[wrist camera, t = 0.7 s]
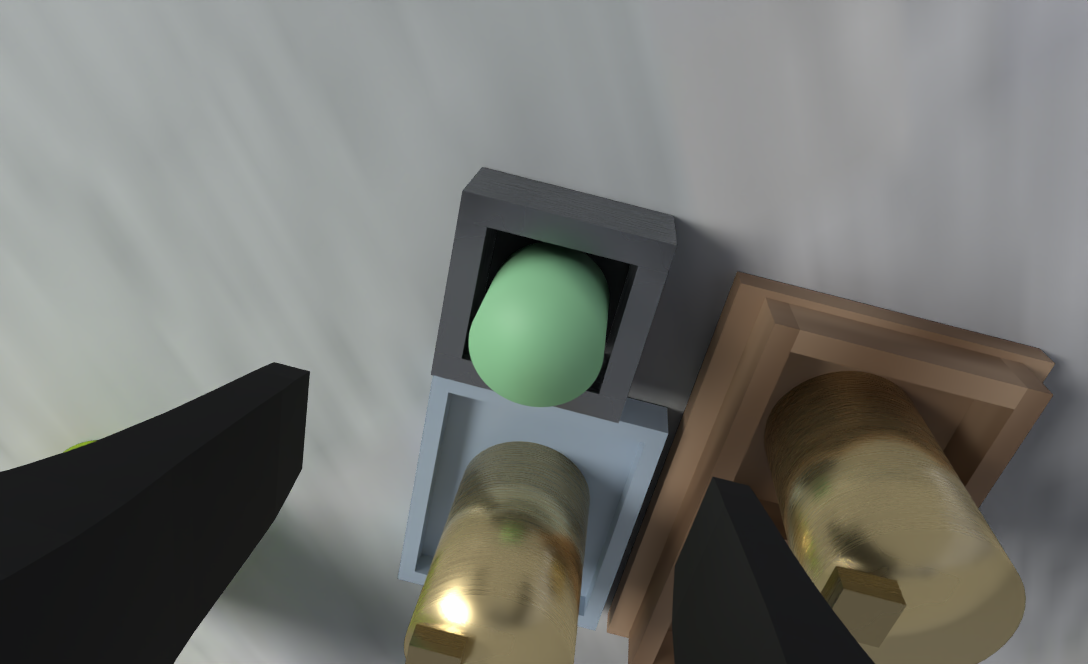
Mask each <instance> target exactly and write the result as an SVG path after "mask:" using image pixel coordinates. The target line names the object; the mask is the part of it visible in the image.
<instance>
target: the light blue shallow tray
mask: <svg viewBox="0 0 1088 664" xmlns="http://www.w3.org/2000/svg"><path fill="white" fill-rule="evenodd" d="M667 436H668V415H667V408H666V407H662V406H658V405H655V404H651V403H647V402H643V401H639V400H635V399H631V398H627V399H626V402H625V405H624V408H623V411H622V415H621V418H620V421H619V423H615V422H611V421H608V420H604V419H600V418H596V417H592V416H588V415H584V414H581V413H577V412H573V411H569V410H565V409H561V408H557V407H553V406H551V407H531V406H525V405H521V404H518V403H515V402H512V401H510V400H508V399H505V398H504V397H502V396H500V395H499V394H497V393H496V392H495V391H492V390H488V389H484V388H480V387H476V386H472V385H468V384H465V383H461V382H457V381H453V380H449V379H445V378H441V377H438V376H434V375H433V378H432V384H431V389H430V395H429V401H428V407H427V412H426V418H425V424H424V430H423V435H422V441H421V447H420V453H419V458H418V464H417V470H416V476H415V481H414V487H413V493H412V499H411V504H410V510H409V516H408V522H407V527H406V533H405V539H404V545H403V550H402V556H401V562H400V568H399V573H398V579H400V580H404V581H408V582H412V583H415V584H419V585H424V582H425V580H426V577H427V574H428V571H429V569H430V566H431V563H432V560H433V557H434V555H435V552H436V549H437V546H438V544H439V541H440V538H441V535H442V532H443V530H444V527H445V524H446V521H447V519H448V516H449V513H450V510H451V507H452V505H453V502H454V499H455V496H456V494H457V491H458V488H459V485H460V482H461V480H462V477H463V474H464V472H465V470H466V468H467V466H468V464H469V463H470V462H471V460H472V459H473V458H474V457H475V456H476V455H478V454H479V453H480V452H482V451H483V450H485V449H487V448H489V447H491V446H494V445H497V444H501V443H505V442H512V441H523V442H532V443H537V444H541V445H544V446H547V447H549V448H552V449H554V450H556V451H558V452H559V453H561V454H563V455H564V456H566V457H567V458H568V459H570V460H571V461H572V462H573V463H574V464H575V465H576V466H577V467H578V469H579V470H580V471H581V473H582V474H583V476H584V478H585V480H586V482H587V484H588V488H589V492H590V506H589V516H588V526H587V536H586V546H585V556H584V566H583V576H582V585H581V595H580V605H579V615H578V625H577V626H579V627H583V628H587V629H591V630H596V627H597V624H598V621H599V619H600V616H601V613H602V611H603V608H604V605H605V603H606V600H607V597H608V595H609V592H610V589H611V587H612V584H613V581H614V578H615V576H616V573H617V570H618V568H619V565H620V562H621V560H622V557H623V554H624V552H625V549H626V546H627V543H628V541H629V538H630V535H631V533H632V530H633V527H634V525H635V522H636V519H637V517H638V514H639V511H640V509H641V506H642V503H643V500H644V498H645V495H646V492H647V490H648V487H649V484H650V482H651V479H652V476H653V474H654V471H655V468H656V466H657V463H658V460H659V457H660V455H661V452H662V449H663V447H664V444H665V441H666V439H667Z"/></svg>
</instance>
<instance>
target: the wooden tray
mask: <svg viewBox="0 0 1088 664" xmlns="http://www.w3.org/2000/svg"><path fill="white" fill-rule="evenodd" d="M1054 364H1055V363H1054V362H1053V361H1052V360H1051V359H1050V358H1049V357H1048V356H1047V355H1045V354H1044V353H1043V352H1042V351H1041V350H1040V349H1039V348H1035V347H1031V346H1027V345H1023V344H1019V343H1015V342H1012V341H1008V340H1004V339H1000V338H996V337H992V336H988V335H984V334H980V333H976V332H972V331H969V330H965V329H961V328H957V327H953V326H949V325H945V324H941V323H937V322H933V321H929V320H926V319H922V318H918V317H914V316H910V315H906V314H902V313H898V312H894V311H890V310H886V309H883V308H879V307H875V306H871V305H867V304H863V303H859V302H855V301H851V300H847V299H843V298H840V297H836V296H832V295H828V294H824V293H820V292H816V291H812V290H808V289H804V288H800V287H797V286H793V285H789V284H785V283H781V282H777V281H773V280H769V279H765V278H761V277H757V276H754V275H750V274H746V273H742V272H738V271H737V273H736V276H735V279H734V281H733V284H732V287H731V289H730V292H729V295H728V297H727V300H726V302H725V305H724V308H723V310H722V313H721V316H720V318H719V321H718V324H717V326H716V329H715V332H714V334H713V337H712V339H711V342H710V345H709V347H708V350H707V353H706V355H705V358H704V361H703V363H702V366H701V369H700V371H699V374H698V377H697V379H696V382H695V384H694V387H693V390H692V392H691V395H690V398H689V400H688V403H687V406H686V408H685V411H684V414H683V416H682V419H681V421H680V424H679V427H678V429H677V432H676V435H675V437H674V440H673V443H672V445H671V448H670V451H669V453H668V456H667V458H666V461H665V464H664V466H663V469H662V472H661V474H660V477H659V480H658V482H657V485H656V488H655V490H654V493H653V496H652V498H651V501H650V503H649V506H648V509H647V511H646V514H645V517H644V519H643V522H642V525H641V527H640V530H639V533H638V535H637V538H636V540H635V543H634V546H633V548H632V551H631V554H630V556H629V559H628V562H627V564H626V567H625V570H624V572H623V575H622V578H621V580H620V583H619V585H618V588H617V591H616V593H615V596H614V599H613V601H612V604H611V607H610V609H609V612H608V622H607V632H608V633H611V634H615V635H619V636H623V637H627V638H629V651H628V664H675V662H674V649H673V634H672V606H673V586H674V569H675V564H676V562H677V560H678V557H679V555H680V552H681V550H682V548H683V545H684V543H685V541H686V538H687V536H688V534H689V531H690V529H691V526H692V524H693V522H694V519H695V517H696V515H697V512H698V510H699V508H700V505H701V503H702V500H703V498H704V496H705V493H706V491H707V489H708V486H709V484H710V482H711V479H712V477H717V478H721V479H725V480H729V481H732V482H736V483H740V484H744V485H748V486H750V488H751V489H752V491H753V492H754V494H755V495H756V497H757V498H758V500H759V501H760V503H761V504H762V506H763V507H764V509H765V510H766V512H767V513H768V515H769V517H770V518H771V520H772V521H773V523H774V524H775V526H776V528H777V529H778V531H779V532H780V534H781V535H782V537H783V538H784V540H785V541H786V543H787V545H788V546H789V544H788V540H787V536H786V532H785V528H784V524H783V520H782V516H781V512H780V508H779V504H778V500H777V496H776V492H775V488H774V484H773V479H772V475H771V471H770V467H769V463H768V459H767V455H766V451H765V446H764V430H765V425H766V422H767V419H768V417H769V415H770V413H771V411H772V409H773V408H774V406H775V405H776V404H777V402H778V401H779V400H780V399H781V398H782V397H783V396H784V395H785V394H786V393H787V392H789V391H790V390H791V389H792V388H794V387H796V386H797V385H799V384H800V383H802V382H804V381H806V380H808V379H811V378H814V377H816V376H819V375H823V374H827V373H832V372H839V371H858V372H865V373H870V374H874V375H877V376H880V377H883V378H885V379H887V380H889V381H891V382H893V383H894V384H896V385H897V386H899V387H900V388H901V389H902V390H903V391H904V392H905V393H906V394H907V395H908V396H909V397H910V399H911V400H912V402H913V403H914V405H915V407H916V408H917V410H918V412H919V413H920V415H921V416H922V418H923V420H924V421H925V423H926V425H927V426H928V428H929V429H930V431H931V433H932V434H933V436H934V438H935V439H936V441H937V442H938V444H939V446H940V447H941V449H942V451H943V452H944V454H945V455H946V457H947V459H948V460H949V462H950V464H951V465H952V467H953V468H954V470H955V472H956V473H957V475H958V477H959V478H960V480H961V481H962V483H963V485H964V486H965V488H966V490H967V491H968V493H969V494H970V496H971V498H972V499H973V501H974V503H975V504H976V506H977V507H978V508H979V507H980V505H981V504H982V502H983V501H984V499H985V498H986V496H987V495H988V493H989V491H990V490H991V488H992V487H993V485H994V484H995V482H996V481H997V479H998V478H999V476H1000V475H1001V473H1002V472H1003V470H1004V469H1005V467H1006V466H1007V464H1008V463H1009V461H1010V460H1011V458H1012V457H1013V455H1014V454H1015V452H1016V451H1017V449H1018V448H1019V446H1020V445H1021V443H1022V442H1023V440H1024V439H1025V437H1026V436H1027V434H1028V433H1029V431H1030V430H1031V428H1032V426H1033V425H1034V423H1035V422H1036V420H1037V419H1038V417H1039V416H1040V414H1041V413H1042V411H1043V410H1044V408H1045V407H1046V405H1047V404H1048V402H1049V401H1050V399H1051V398H1052V396H1053V394H1052V393H1051V392H1050V391H1049V390H1048V389H1047V388H1046V387H1045V386H1044V385H1043V381H1044V380H1045V378H1046V377H1047V375H1048V374H1049V372H1050V371H1051V369H1052V368H1053V366H1054Z"/></svg>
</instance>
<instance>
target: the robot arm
mask: <svg viewBox="0 0 1088 664" xmlns="http://www.w3.org/2000/svg"><path fill="white" fill-rule="evenodd" d="M309 376H310V371H306V370H302V369H298V368H295V367H291V366H287V365H283V364H279V363H275V362H274V363H271V364H269V365H266V366H264V367H262V368H260V369H257V370H255V371H253V372H251V373H249V374H247V375H245V376H243V377H240V378H238V379H236V380H234V381H232V382H230V383H228V384H226V385H224V386H222V387H220V388H218V389H215V390H213V391H211V392H209V393H207V394H205V395H203V396H200V397H198V398H196V399H194V400H192V401H190V402H187V403H185V404H183V405H181V406H179V407H177V408H174V409H172V410H170V411H168V412H166V413H163V414H161V415H159V416H156V417H154V418H151V419H149V420H146V421H144V422H142V423H139V424H137V425H134V426H132V427H129V428H127V429H125V430H122V431H120V432H117V433H115V434H112V435H110V436H108V437H105V438H103V439H100V440H97V441H95V442H92V443H89V444H87V445H84V446H81V447H78V448H75V449H72V450H70V451H67V452H64V453H61V454H58V455H55V456H51V457H48V458H45V459H42V460H39V461H36V462H33V463H30V464H27V465H23V466H20V467H17V468H13V469H10V470H6V471H3V472H0V664H174V662H175V660H176V659H177V657H178V656H179V654H180V653H181V651H182V650H183V648H184V647H185V645H186V644H187V642H188V641H189V639H190V637H191V636H192V634H193V633H194V631H195V630H196V629H197V627H198V626H199V625H200V623H201V622H202V620H203V619H204V618H205V616H206V615H207V613H208V612H209V611H210V609H211V608H212V607H213V605H214V604H215V602H216V601H217V600H218V598H219V597H220V595H221V594H222V593H223V591H224V590H225V589H226V587H227V586H228V584H229V583H230V582H231V580H232V579H233V578H234V576H235V575H236V573H237V572H238V571H239V569H240V568H241V566H242V565H243V564H244V562H245V561H246V560H247V558H248V557H249V555H250V554H251V553H252V551H253V550H254V548H255V547H256V545H257V544H258V543H259V541H260V540H261V538H262V537H263V536H264V534H265V533H266V531H267V530H268V529H269V527H270V526H271V524H272V523H273V521H274V520H275V518H276V516H277V515H278V513H279V511H280V509H281V507H282V506H283V504H284V502H285V500H286V498H287V497H288V495H289V493H290V491H291V489H292V487H293V485H294V483H295V481H296V479H297V477H298V475H299V473H300V472H301V470H302V463H303V451H304V438H305V426H306V413H307V401H308V388H309ZM672 634H673V649H674V662H675V664H875V663H874V662H873V660H872V659H871V658H870V657H869V656H868V654H867V653H866V652H865V651H864V650H863V648H862V647H861V646H860V645H859V643H858V642H857V641H856V639H855V638H854V637H853V636H852V634H851V633H850V632H849V630H848V629H847V628H846V626H845V625H844V624H843V623H842V621H841V620H840V619H839V617H838V616H837V615H836V613H835V612H834V611H833V609H832V608H831V607H830V605H829V604H828V603H827V601H826V600H825V598H824V597H823V596H822V594H821V593H820V592H819V590H818V589H817V587H816V586H815V584H814V583H813V582H812V580H811V579H810V577H809V576H808V574H807V573H806V571H805V570H804V568H803V567H802V566H801V564H800V563H799V561H798V560H797V558H796V557H795V555H794V554H793V552H792V551H791V549H790V548H789V546H788V545H787V543H786V541H785V540H784V538H783V537H782V535H781V534H780V532H779V531H778V529H777V528H776V526H775V524H774V523H773V521H772V520H771V518H770V517H769V515H768V513H767V512H766V510H765V509H764V507H763V506H762V504H761V503H760V501H759V500H758V498H757V497H756V495H755V494H754V492H753V491H752V489H751V488H750V486H748V485H744V484H740V483H736V482H732V481H729V480H725V479H721V478H717V477H712V479H711V482H710V484H709V486H708V489H707V491H706V493H705V496H704V498H703V500H702V503H701V505H700V508H699V510H698V512H697V515H696V517H695V519H694V522H693V524H692V526H691V529H690V531H689V534H688V536H687V538H686V541H685V543H684V545H683V548H682V550H681V552H680V555H679V557H678V560H677V562H676V564H675V569H674V586H673V606H672Z"/></svg>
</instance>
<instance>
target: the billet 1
mask: <svg viewBox="0 0 1088 664" xmlns="http://www.w3.org/2000/svg"><path fill="white" fill-rule="evenodd" d="M589 506H590V492H589V488H588V484H587V482H586V480H585V478H584V476H583V474H582V473H581V471H580V470H579V469H578V467H577V466H576V465H575V464H574V463H573V462H572V461H571V460H570V459H568V458H567V457H566V456H564V455H563V454H561V453H559V452H558V451H556V450H554V449H552V448H549V447H547V446H544V445H541V444H537V443H532V442H523V441H512V442H505V443H501V444H497V445H494V446H491V447H489V448H487V449H485V450H483V451H482V452H480V453H479V454H478V455H476V456H475V457H474V458H473V459H472V460H471V462H470V463H469V464H468V466H467V468H466V470H465V472H464V474H463V477H462V480H461V482H460V485H459V488H458V491H457V494H456V496H455V499H454V502H453V505H452V507H451V510H450V513H449V516H448V519H447V521H446V524H445V527H444V530H443V532H442V535H441V538H440V541H439V544H438V546H437V549H436V552H435V555H434V557H433V560H432V563H431V566H430V569H429V571H428V574H427V577H426V580H425V582H424V585H423V588H422V591H421V594H420V596H419V599H418V602H417V605H416V607H415V610H414V613H413V616H412V619H411V621H410V624H409V627H408V630H407V633H406V636H405V641H404V653H405V657H406V662H405V664H574V655H575V645H576V635H577V625H578V615H579V605H580V595H581V585H582V576H583V566H584V556H585V546H586V536H587V526H588V516H589Z"/></svg>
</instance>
